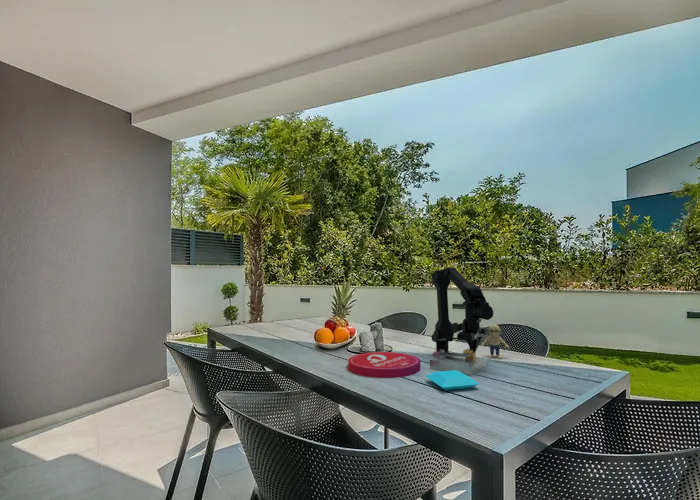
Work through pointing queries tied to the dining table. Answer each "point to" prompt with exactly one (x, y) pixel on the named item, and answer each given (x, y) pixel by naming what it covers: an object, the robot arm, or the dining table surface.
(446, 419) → the dining table surface
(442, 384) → the prism
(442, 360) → the grey piece
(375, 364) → the sign
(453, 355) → the strap
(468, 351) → the tab
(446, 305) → the robot arm
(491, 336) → the toy
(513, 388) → the dining table surface
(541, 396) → the dining table surface
